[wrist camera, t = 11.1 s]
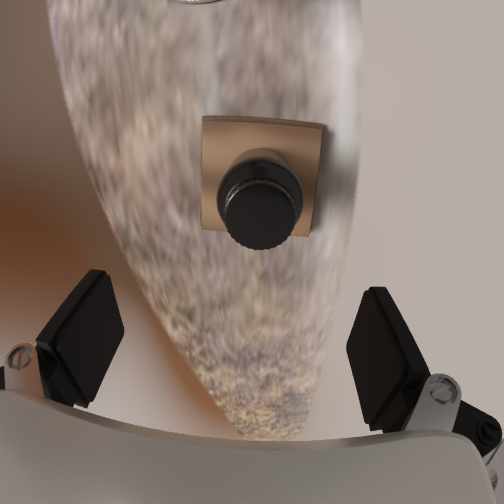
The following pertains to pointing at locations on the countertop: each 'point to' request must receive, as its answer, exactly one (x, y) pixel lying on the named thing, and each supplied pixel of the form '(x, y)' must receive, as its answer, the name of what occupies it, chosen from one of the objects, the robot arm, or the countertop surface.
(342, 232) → the countertop surface
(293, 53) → the countertop surface
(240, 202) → the supplement bottle
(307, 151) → the walnut pedestal
